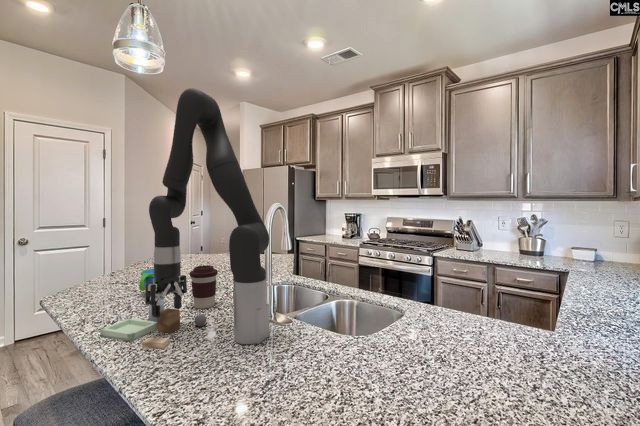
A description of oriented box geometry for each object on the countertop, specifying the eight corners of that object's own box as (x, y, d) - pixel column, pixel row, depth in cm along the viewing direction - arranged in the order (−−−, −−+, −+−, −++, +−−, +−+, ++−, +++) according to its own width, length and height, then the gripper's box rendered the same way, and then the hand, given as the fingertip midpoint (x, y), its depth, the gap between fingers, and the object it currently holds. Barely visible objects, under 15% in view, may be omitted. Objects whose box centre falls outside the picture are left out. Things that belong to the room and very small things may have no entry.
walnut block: (180, 328, 103) (179, 309, 103) (169, 334, 99) (168, 314, 99) (168, 326, 105) (168, 308, 105) (157, 332, 101) (157, 312, 100)
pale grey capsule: (167, 318, 113) (166, 294, 112) (156, 322, 108) (155, 298, 108) (156, 316, 114) (156, 293, 114) (145, 321, 110) (145, 297, 110)
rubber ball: (208, 324, 107) (208, 313, 106) (201, 328, 103) (201, 317, 103) (199, 323, 108) (199, 312, 108) (192, 327, 104) (191, 316, 104)
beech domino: (169, 345, 92) (169, 338, 92) (163, 350, 89) (162, 342, 89) (148, 344, 93) (148, 337, 93) (142, 349, 90) (142, 342, 90)
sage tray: (158, 328, 103) (158, 322, 103) (131, 341, 94) (130, 334, 94) (129, 324, 107) (129, 317, 107) (100, 335, 98) (100, 329, 98)
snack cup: (149, 300, 133) (149, 275, 133) (130, 297, 137) (129, 273, 136) (178, 290, 148) (178, 267, 147) (160, 288, 151) (159, 266, 151)
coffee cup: (184, 307, 123) (183, 268, 123) (205, 300, 132) (204, 263, 132) (203, 312, 119) (203, 270, 118) (223, 304, 128) (223, 265, 127)
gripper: (158, 266, 93) (158, 322, 94) (193, 257, 107) (193, 307, 108) (138, 263, 96) (138, 318, 97) (174, 256, 109) (174, 304, 110)
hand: (167, 312), depth 102 cm, fingers open, 8 cm apart
